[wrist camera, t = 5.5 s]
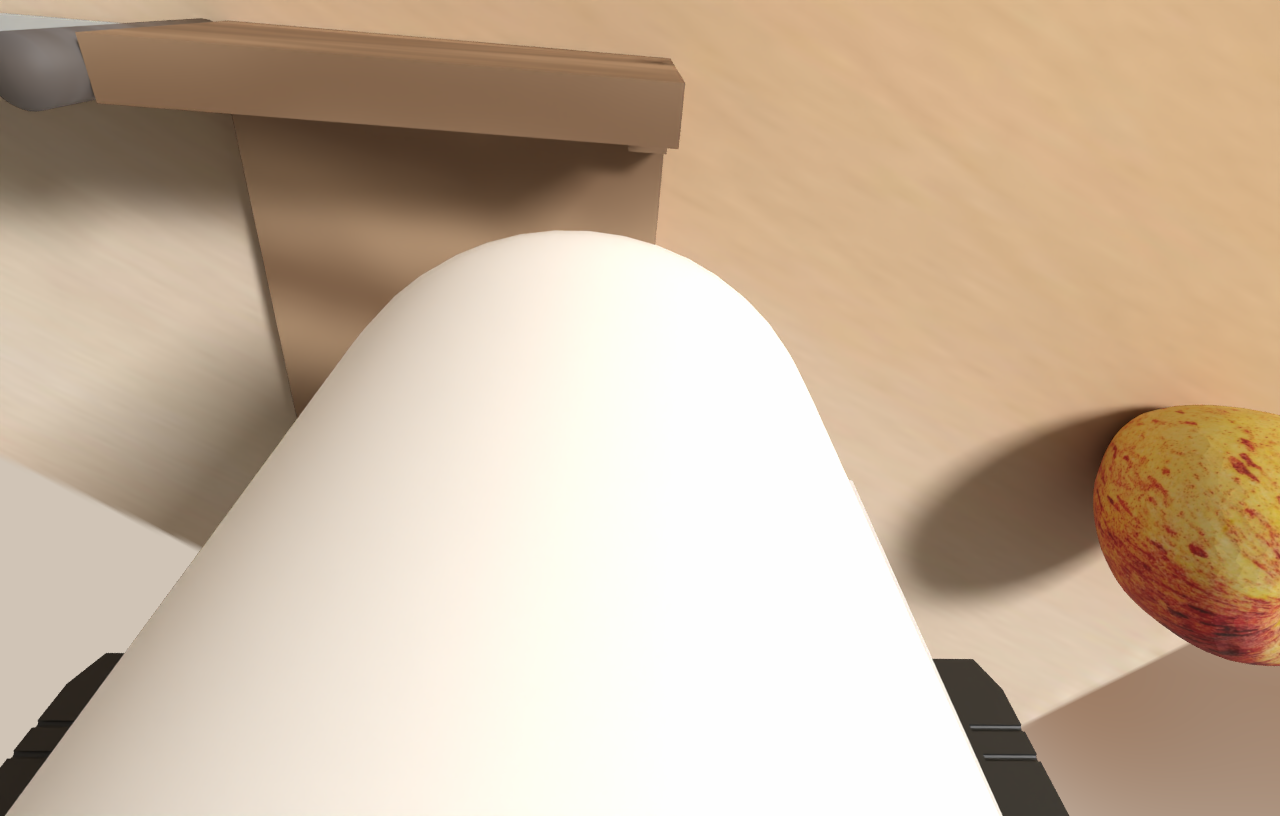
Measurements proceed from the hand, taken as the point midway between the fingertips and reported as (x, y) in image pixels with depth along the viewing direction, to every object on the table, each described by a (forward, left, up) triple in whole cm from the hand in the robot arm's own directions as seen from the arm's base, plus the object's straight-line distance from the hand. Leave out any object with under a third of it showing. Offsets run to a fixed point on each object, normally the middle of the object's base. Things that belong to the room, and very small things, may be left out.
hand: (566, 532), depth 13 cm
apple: (+7, +25, -15) cm, 30 cm away
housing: (+2, -5, -15) cm, 16 cm away
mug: (0, -1, -2) cm, 2 cm away
